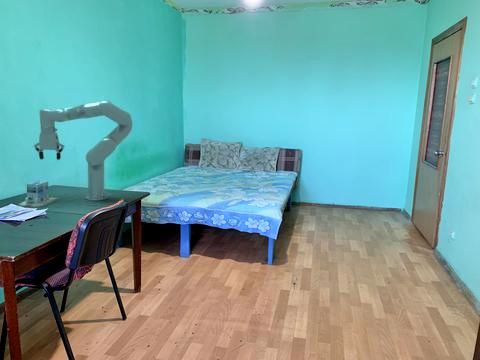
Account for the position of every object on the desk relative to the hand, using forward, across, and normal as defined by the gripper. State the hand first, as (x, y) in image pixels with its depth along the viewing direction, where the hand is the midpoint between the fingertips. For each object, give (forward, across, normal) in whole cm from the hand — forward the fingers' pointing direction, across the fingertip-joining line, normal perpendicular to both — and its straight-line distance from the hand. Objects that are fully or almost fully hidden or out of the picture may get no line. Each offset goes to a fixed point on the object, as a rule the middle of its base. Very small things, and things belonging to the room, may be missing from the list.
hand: (50, 159), depth 219 cm
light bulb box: (+23, +4, +10) cm, 25 cm away
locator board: (+24, +4, +10) cm, 26 cm away
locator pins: (+24, +4, +10) cm, 26 cm away
